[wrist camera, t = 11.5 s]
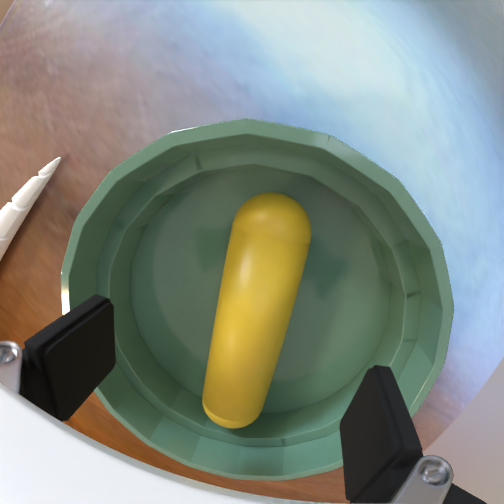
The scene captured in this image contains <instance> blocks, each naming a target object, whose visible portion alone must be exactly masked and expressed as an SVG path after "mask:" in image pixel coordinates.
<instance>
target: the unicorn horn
mask: <svg viewBox="0 0 504 504" xmlns="http://www.w3.org/2000/svg"><path fill="white" fill-rule="evenodd" d="M60 159H61V157H59V158H57V159H55V160H54V161H52V162H51V163H49V164H48V165H47V166H45V167H44V168H43V169H42V170H40V171H39V173H38V174H39V176H38V177H37V176H35V177H33V178H31V179H30V180H29V181H28V182H27V183H26V184H25V185H24V186H23V187H22V188H21V189H20V190H19V191H18V192H17V193H16V194H15V195H14V196H13V197H12V201H13V202H12V203H10V202H8V203H7V204H6V205H5V206H4V207H3V208H2V210H1V211H0V261H1V259H2V257H3V255H4V253H5V251H6V250H7V248H8V246H9V244H10V243H11V241H12V239H13V238H14V236H15V234H16V232H17V230H18V229H19V227H20V226H21V224H22V222H23V221H24V219H25V217H26V216H27V214H28V212H29V211H30V209H31V207H32V206H33V204H34V202H35V200H36V199H37V198H38V196H39V195H40V193H41V192H42V190H43V189H44V187H45V185H46V184H47V182H48V181H49V179H50V178H51V176H52V174H53V173H54V171H55V170H56V167H57V165H58V164H59V162H60Z"/></svg>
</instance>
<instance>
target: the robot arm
mask: <svg viewBox="0 0 504 504" xmlns="http://www.w3.org/2000/svg"><path fill="white" fill-rule="evenodd" d="M24 343H25V348H24V349H23V350H22V349H21V347H20V346H19V345H18V344H17V343H15V342H12V341H7V340H6V341H0V504H347V503H323V502H309V501H298V500H289V499H281V498H273V497H267V496H261V495H255V494H250V493H244V492H240V491H235V490H230V489H226V488H222V487H218V486H214V485H210V484H206V483H203V482H199V481H196V480H192V479H189V478H186V477H182V476H179V475H176V474H173V473H170V472H167V471H165V470H162V469H159V468H156V467H154V466H151V465H149V464H146V463H143V462H141V461H139V460H136V459H134V458H131V457H129V456H127V455H125V454H122V453H120V452H118V451H116V450H113V449H111V448H109V447H107V446H105V445H103V444H101V443H99V442H97V441H95V440H93V439H91V438H89V437H87V436H86V435H84V434H82V433H80V432H78V431H76V430H75V429H73V428H71V427H69V426H68V425H66V424H64V423H63V422H62V421H63V420H64V421H67V420H68V419H69V418H70V417H71V416H72V415H73V414H74V413H75V411H76V410H77V409H78V408H79V407H80V406H81V405H82V403H83V402H84V401H85V400H86V399H87V398H88V397H89V395H90V394H91V393H92V392H93V391H94V390H95V389H96V388H97V386H98V385H99V384H100V383H101V382H102V381H103V380H104V379H105V378H106V376H107V375H108V374H109V373H110V372H111V371H112V370H113V368H114V367H115V364H116V353H115V331H114V305H113V304H112V303H111V301H110V299H109V298H106V297H103V296H101V295H98V294H95V295H93V296H92V297H90V298H89V299H87V300H85V301H84V302H82V303H81V304H79V305H78V306H76V307H75V308H73V309H72V310H70V311H69V312H67V313H66V314H64V315H63V316H61V317H60V318H58V319H57V320H55V321H54V322H52V323H51V324H49V325H48V326H46V327H45V328H44V329H42V330H41V331H39V332H38V333H36V334H35V335H33V336H32V337H31V338H29V339H28V340H26V341H25V342H24ZM339 429H340V438H341V448H342V458H343V469H344V480H345V494H346V499H347V500H349V501H350V504H487V503H485V502H484V501H482V500H481V499H479V498H477V497H475V496H473V495H472V494H470V493H468V492H466V491H465V490H463V489H461V488H459V487H458V486H456V485H454V484H453V483H452V481H453V476H454V475H453V470H452V467H451V465H450V464H449V463H448V462H447V461H446V460H445V459H443V458H442V457H439V456H435V455H427V456H423V453H422V450H423V449H422V447H421V444H420V441H419V438H418V435H417V433H416V430H415V427H414V424H413V422H412V419H411V417H410V414H409V411H408V409H407V406H406V404H405V401H404V399H403V396H402V394H401V391H400V389H399V386H398V384H397V382H396V379H395V377H394V374H393V372H392V370H391V368H390V367H388V366H380V365H374V366H373V367H372V368H369V369H368V370H367V371H366V373H365V375H364V377H363V379H362V381H361V383H360V385H359V387H358V389H357V391H356V393H355V395H354V397H353V399H352V401H351V403H350V404H349V406H348V408H347V410H346V412H345V413H344V415H343V417H342V419H341V421H340V426H339Z"/></svg>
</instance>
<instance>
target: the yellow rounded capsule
mask: <svg viewBox="0 0 504 504" xmlns="http://www.w3.org/2000/svg"><path fill="white" fill-rule="evenodd" d="M311 234H312V232H311V223H310V219H309V217H308V215H307V213H306V211H305V209H304V208H303V207H302V206H301V204H300V203H298V202H297V201H296V200H295V199H293V198H291V197H290V196H288V195H285V194H282V193H277V192H266V193H261V194H258V195H255V196H253V197H251V198H250V199H248V200H247V201H246V202H245V203H243V205H242V206H241V207H240V208H239V210H238V211H237V213H236V215H235V217H234V220H233V223H232V228H231V233H230V238H229V244H228V249H227V254H226V260H225V265H224V270H223V276H222V281H221V287H220V292H219V298H218V304H217V309H216V315H215V321H214V327H213V333H212V339H211V345H210V351H209V357H208V363H207V369H206V375H205V382H204V388H203V394H202V404H203V407H204V410H205V412H206V414H207V415H208V417H209V418H210V419H211V420H212V421H213V422H215V423H216V424H218V425H220V426H222V427H225V428H242V427H245V426H247V425H249V424H251V423H252V422H253V421H255V420H256V419H257V417H258V416H259V415H260V413H261V411H262V409H263V406H264V403H265V400H266V396H267V393H268V390H269V387H270V384H271V381H272V378H273V375H274V371H275V368H276V365H277V362H278V359H279V355H280V352H281V349H282V345H283V342H284V339H285V335H286V332H287V328H288V325H289V321H290V318H291V314H292V311H293V307H294V303H295V300H296V296H297V292H298V289H299V285H300V281H301V277H302V274H303V270H304V266H305V262H306V258H307V254H308V250H309V246H310V242H311Z"/></svg>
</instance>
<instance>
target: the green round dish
mask: <svg viewBox="0 0 504 504" xmlns="http://www.w3.org/2000/svg"><path fill="white" fill-rule="evenodd" d="M266 192H277V193H282V194H285V195H288V196H290V197H291V198H293V199H295V200H296V201H297V202H298V203H300V204H301V206H302V207H303V208H304V209H305V211H306V213H307V215H308V217H309V219H310V223H311V232H312V234H311V242H310V246H309V250H308V254H307V258H306V262H305V266H304V270H303V274H302V277H301V281H300V285H299V289H298V292H297V296H296V300H295V303H294V307H293V311H292V314H291V318H290V321H289V325H288V328H287V332H286V335H285V339H284V342H283V345H282V349H281V352H280V355H279V359H278V362H277V365H276V368H275V371H274V375H273V378H272V381H271V384H270V387H269V390H268V393H267V396H266V400H265V403H264V406H263V409H262V411H261V413H260V415H259V416H258V417H257V419H256V420H255V421H253V422H252V423H251V424H249V425H247V426H245V427H242V428H225V427H222V426H220V425H218V424H216V423H215V422H213V421H212V420H211V419H210V418H209V417H208V415H207V414H206V412H205V410H204V407H203V404H202V394H203V388H204V382H205V375H206V369H207V363H208V357H209V351H210V345H211V339H212V333H213V327H214V321H215V315H216V309H217V304H218V298H219V292H220V287H221V281H222V276H223V270H224V265H225V260H226V254H227V249H228V244H229V238H230V233H231V228H232V223H233V220H234V217H235V215H236V213H237V211H238V210H239V208H240V207H241V206H242V205H243V203H245V202H246V201H247V200H248V199H250V198H251V197H253V196H255V195H258V194H261V193H266ZM95 294H98V295H101V296H103V297H106V298H109V299H110V301H111V303H112V304H113V305H114V331H115V353H116V364H115V367H114V368H113V370H112V371H111V372H110V373H109V374H108V375H107V376H106V378H105V379H104V380H103V381H102V382H101V383H100V384H99V385H98V386H97V388H96V389H95V390H94V392H95V394H96V395H97V396H98V398H99V399H100V401H101V402H102V403H103V405H104V406H105V407H106V409H107V410H108V411H109V412H110V413H111V414H112V415H113V416H114V417H115V418H116V419H117V420H118V421H119V422H121V423H122V424H123V425H124V426H125V427H126V428H127V429H128V430H130V431H131V432H132V433H133V434H134V435H135V436H137V437H138V438H139V439H140V440H141V441H143V442H144V443H146V444H147V445H149V446H150V447H152V448H154V449H156V450H157V451H159V452H161V453H163V454H165V455H167V456H169V457H170V458H172V459H174V460H176V461H178V462H180V463H182V464H184V465H186V466H189V467H192V468H195V469H198V470H202V471H205V472H209V473H213V474H216V475H220V476H224V477H229V478H233V479H243V480H269V481H283V480H290V479H296V478H301V477H306V476H311V475H316V474H320V473H324V472H328V471H332V470H335V469H337V468H339V467H341V466H343V458H342V448H341V438H340V429H339V426H340V421H341V419H342V417H343V415H344V413H345V412H346V410H347V408H348V406H349V404H350V403H351V401H352V399H353V397H354V395H355V393H356V391H357V389H358V387H359V385H360V383H361V381H362V379H363V377H364V375H365V373H366V371H367V370H368V369H369V368H372V367H373V366H374V365H380V366H388V367H390V368H391V370H392V372H393V374H394V377H395V379H396V382H397V384H398V386H399V389H400V391H401V394H402V396H403V399H404V401H405V404H406V406H407V409H408V411H409V414H410V417H411V418H412V417H413V416H414V415H415V414H416V412H417V411H418V410H419V408H420V407H421V405H422V403H423V402H424V400H425V398H426V397H427V395H428V393H429V392H430V390H431V388H432V386H433V385H434V383H435V381H436V379H437V377H438V376H439V374H440V372H441V370H442V368H443V365H444V362H445V358H446V353H447V348H448V343H449V338H450V332H451V326H452V320H453V313H454V303H453V297H452V291H451V285H450V280H449V275H448V270H447V265H446V261H445V256H444V252H443V248H442V244H441V241H440V240H439V238H438V236H437V235H436V233H435V232H434V230H433V228H432V227H431V225H430V224H429V222H428V221H427V219H426V218H425V216H424V215H423V213H422V212H421V210H420V209H419V207H418V206H417V204H416V203H415V201H414V200H413V198H412V197H411V196H410V194H409V193H408V191H407V190H406V189H405V187H404V186H403V185H402V183H401V182H400V181H399V180H398V179H397V178H395V177H394V176H393V175H391V174H390V173H389V172H387V171H386V170H384V169H383V168H381V167H380V166H379V165H377V164H376V163H374V162H373V161H371V160H370V159H368V158H367V157H365V156H364V155H362V154H361V153H359V152H358V151H356V150H354V149H353V148H351V147H350V146H348V145H347V144H345V143H343V142H342V141H340V140H339V139H337V138H335V137H334V136H330V135H329V134H325V133H321V132H317V131H312V130H308V129H304V128H299V127H294V126H289V125H284V124H279V123H274V122H269V121H263V120H257V119H251V118H249V119H248V118H244V119H237V120H230V121H224V122H218V123H213V124H207V125H202V126H197V127H192V128H187V129H182V130H177V131H173V132H171V133H168V134H166V135H165V136H163V137H161V138H160V139H158V140H156V141H155V142H153V143H151V144H150V145H148V146H146V147H145V148H143V149H142V150H140V151H139V152H137V153H135V154H134V155H132V156H131V157H129V158H128V159H126V160H125V161H123V162H122V163H120V164H119V165H117V166H116V167H114V168H113V169H112V170H111V171H110V172H109V173H108V175H107V176H106V177H105V179H104V180H103V181H102V183H101V184H100V185H99V187H98V188H97V189H96V191H95V192H94V193H93V195H92V196H91V198H90V199H89V200H88V202H87V203H86V205H85V206H84V208H83V209H82V210H81V212H80V213H79V215H78V216H77V218H76V220H75V223H74V226H73V229H72V233H71V236H70V239H69V243H68V247H67V250H66V254H65V258H64V262H63V266H62V270H61V296H62V312H63V315H64V314H66V313H67V312H69V311H70V310H72V309H73V308H75V307H76V306H78V305H79V304H81V303H82V302H84V301H85V300H87V299H89V298H90V297H92V296H93V295H95Z"/></svg>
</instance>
